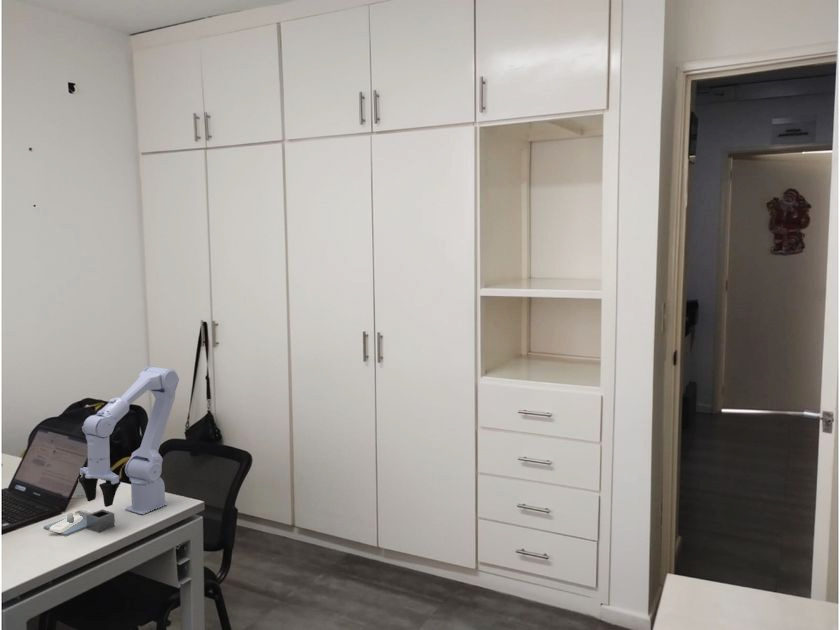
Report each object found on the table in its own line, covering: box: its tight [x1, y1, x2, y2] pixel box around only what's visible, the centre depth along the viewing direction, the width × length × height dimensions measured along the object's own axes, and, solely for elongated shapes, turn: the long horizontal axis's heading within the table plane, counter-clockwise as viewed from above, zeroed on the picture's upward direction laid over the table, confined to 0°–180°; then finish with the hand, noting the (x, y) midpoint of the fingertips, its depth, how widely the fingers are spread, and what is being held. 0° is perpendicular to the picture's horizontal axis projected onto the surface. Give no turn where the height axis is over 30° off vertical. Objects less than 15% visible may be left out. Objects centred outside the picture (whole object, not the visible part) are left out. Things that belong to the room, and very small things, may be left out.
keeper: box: [43, 509, 92, 537], centre depth 203 cm, size 10×10×4 cm
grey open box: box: [86, 508, 116, 533], centre depth 202 cm, size 5×5×4 cm
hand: (100, 502), depth 202 cm, fingers open, 7 cm apart
